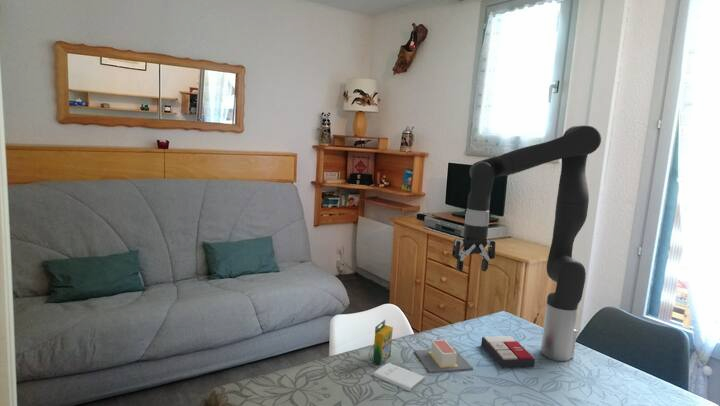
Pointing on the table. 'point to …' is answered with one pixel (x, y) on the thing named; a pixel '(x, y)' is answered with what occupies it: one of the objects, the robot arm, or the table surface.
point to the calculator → (507, 352)
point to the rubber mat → (435, 366)
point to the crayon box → (382, 343)
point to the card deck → (443, 353)
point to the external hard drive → (399, 376)
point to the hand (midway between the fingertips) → (471, 271)
